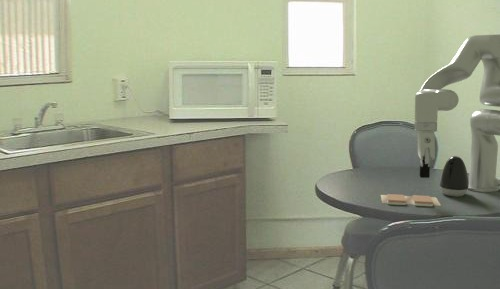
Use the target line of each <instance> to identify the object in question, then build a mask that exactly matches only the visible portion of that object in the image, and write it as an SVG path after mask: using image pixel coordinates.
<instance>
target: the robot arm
mask: <svg viewBox="0 0 500 289" xmlns="http://www.w3.org/2000/svg"><path fill="white" fill-rule="evenodd" d="M480 62H482V64H483V75H482V80H481V86H480V92H479V101H480V104H482V105H483V106H486V107H494V108H495V107H496V108H500V34H478V35H477V34H476V35H472V36H468V37H467V38H466V39H465V40H464V41H463V43H462V45H461V46H460V47H459V49H458V51H457V52H456V54H455V55H454V57H453V58H452V59H451V61H450V63H448V64H447V65H445V66H444V67H442V68H441V69H439V70H437V71H436V72H435V73H433V74H432V75H430V77H428V78H427V79H426V81H425V82H424V83H423V84H422V86H421V88H420V90H419V91H418V92H416V93H415V96H414V132H416V133H417V141H416V142H417V145H416V146H417V156H418V157H419V159H420V160H419V161H420V162H419V164H420V165H419V178H421V179H422V178H424V179H425V178H426V179H429V178H430V177H431V176H430V174H431V173H430V170H431V169H430V168H431V167H430V163H431V162H430V161H431V160H433V161H434V160H436V139H435V138H436V137H435V132H438V111H439V112H440V111H441V112H442V111H443V112H447V111H452V110H454V109H455V108H457V106H458V104H459V96H458V93H456V92H455V91H453V90H451V89H444V88H445V87H447V86H450V85H452V84H456V83H458V82H462V81H464V80H467V79H469V78H470V77H471V76H472V75H473V73H474V71H475V70H476V68H477V67H478V65H479V63H480ZM469 119H470V120H469V122H470V124H469V125H470V130H471V132H470V133H471V144H470V145H471V146H470V159H469V160H470V161H469V173H468V182H469V187H468V189H467V190H470V191H474V192H481V193H494V192H496V193H497V192H498V191H500V179H498V178H497V176H496V175H497V166H498V165H497V163H498V153H499V152H498V151H499V149H498V148H499V144H498V143H499V142H498V141H497V139H496V136H500V110H499V109H498V110H497V109H487V108H486V109H485V108H484V109H483V108H482V109H477V110H475V111H474V112H472V114H471V115H470V118H469Z"/></svg>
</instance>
